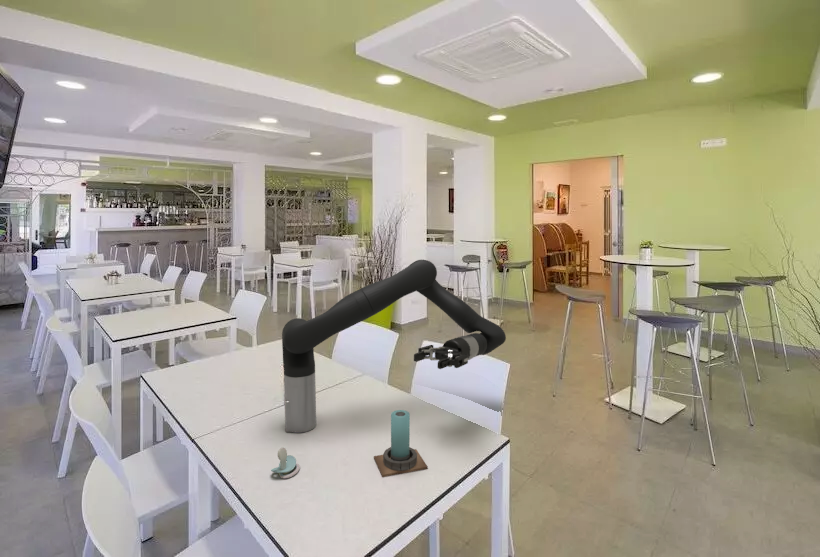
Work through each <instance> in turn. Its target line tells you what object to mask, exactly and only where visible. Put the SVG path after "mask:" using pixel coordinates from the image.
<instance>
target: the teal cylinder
mask: <svg viewBox="0 0 820 557" xmlns="http://www.w3.org/2000/svg"><path fill="white" fill-rule="evenodd" d="M410 416H411V414H410V412H409V411H408V410H404V409H396V410H394V411H391V413H390V447H391V459H392V460H394V461H406V460H408V459H410V451H409V447H410V437H411V436H410V435H411V434H410V432H411V431H410V430H411V429H410V425H411V422H410Z"/></svg>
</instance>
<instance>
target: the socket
mask: <svg viewBox="0 0 820 557" xmlns="http://www.w3.org/2000/svg"><path fill="white" fill-rule="evenodd" d="M409 451H410V459H408V460H406V461H394V460H392V459H391V446H389V447H388V448H386V449H385V450H384V452H383V454H379V455H374V456H373V460H374V462H375V464H376V466H377V469H378V471H379V472H380V475H381V477H382V478H385V477H391V476H395V475H396V476H397V475H402V474H405V473H406V474H407V473H411V472H418V471H423V470H428V469H429V467H428V465H427V463H426V462H425V460H424V459H423V457H422V456H421V454H420V453H419V451H418V450H417V448H412V447H411V446H409Z"/></svg>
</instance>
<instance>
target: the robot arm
mask: <svg viewBox="0 0 820 557" xmlns="http://www.w3.org/2000/svg"><path fill="white" fill-rule="evenodd" d="M437 276H438V270H437V266H436V265H435V263H433V262H432V261H430V260H426V259H417V260H415V261H413V262H412V263H410V264H409V265H408V266H406V267H405V268H403V269H402V270H401V271H398V272H397V273H395V274H393V275H391V276H388V277H386V278H384V279H381V280H378V281H376V282H373V283H369V284H368V285H365V286H363V287H362V288H359V289H357V290H355V291H353V292H351V293H349V294H348V295H346V296H344V297H342V298H341V299H340V300H339V301H338V302H336V303H335V304H334V305H333V306H331V307H330V308H329V309H328V310H326V311H325V312H323V313H322V314H319V315H317V316H315V317H313V318H310V319H308V320H306V319H304V318H301V317H299V318H296V317H295V318H293V319H290V320H289V321H287V322H286V323H285V324H284V326H283V328H282V333H281V339H282V340H281V342H282V343H281V344H282V345H281V346H282V363H283V364H282V366H283V381H284V383H283V384H284V385H283V387H284V388H283V389H284V390H283V391H284V394H283V396H284V399H283V400H284V422H285V424H284V425H285V426H284V427H285V432H286V433H297V434H298V433H306V432H310V431H311V430H313V429H315V428H316V427H317V396H316V395H317V394H316V392H317V391H316V388H317V387H316V360H315V353H314V348H316V347H318V345H320V344H321V343H323V342H324V341H326V340H328V339H330V338H331V337H333V336H334V335H336V334H337V333H338V334H339V333H340V332H342V331H345V330H348V329H349V328H351V327H353V326H355V325H357V324H359V323H361V322H364V321H365V320H368V319H370V318H371V317H373V316H375V315H377V314H378V313H380V312H381V311H384V310H385V309H387V308H388V307H389V306H391V305H393V304H394V303H396V302H397V301H398V300H399V299H401V298H404V297H405V296H407V295H410V294H412V293H414V292H417V293H419V294H420V295H422V296H424V297H425V298H426V299H427V300H429V301H431V302H432V303H433V304H434V305H436V306H437V307H438V308H439V309H440V310H441V311H442V312H444V313H445V315H447V316H448V317H449V318H450V319H451V320H452V321H453V322H454V323H456V324H457V326H459V327H460V328H461V329H462V330H463V331H464V332H465V333H467V335H461V336H457V337H454V338H451V339H448V340H445V342H444V344H442V346H438V347H434V344H430V345H429V344H428V345H426V346H422V347H419V348H417V350H418V352H417V353H414V354H413V362H416V363H417V362H420V361H424V360H430V361H437V369H439V370H442V369H445V368H447V367H448V368H451V367H454V369H459V368H461V367H463V366H465V365H467V364H469V361H470V360H472V359H474V358H476V357H479V356H484V355H488V354H490V353H492V352H493V351H494V350H496V349H498V347H500V346H502V345H503V344H504V343H505V342H506V339H507V338H506V337H507V336H506V333H505V330H503V328H502V327H501V326H500V325H498V324H496V322H495V323H494V322H493V321H491V320H489V319H487V318H485V317H483V316H482V315H480V314H479V313H477V312H476V311H475V310H474V309H473V308H472V306H470V305H469V304H468V303H466V302H465V301H464V300H463V299H462V298H459V297H457V296H456V295H454V294H453V293H452V292H450V291H448V290H447V289H446V288H445V287H444V286H442V285H441V284H440V283H439V282H438V281H437ZM477 332H478V333H477ZM433 354H434V357H433Z"/></svg>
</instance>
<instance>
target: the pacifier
mask: <svg viewBox="0 0 820 557" xmlns="http://www.w3.org/2000/svg"><path fill="white" fill-rule="evenodd" d="M277 458H278V460H279V463H278V466H277V467H274V468H271V469H270V471H271V472H272V473H276V474H278V475H279V477H280V479H290V478H291V477H294V476H295V475H297V473H299V471H300V469H301V466H300V464H298V463H297V459H296V458H295V456H293V455H288V452H287V449H286V447H280V448H279V449H278V451H277ZM294 468H295V469H294ZM292 471H293V472H292ZM290 472H291V473H290Z"/></svg>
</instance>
